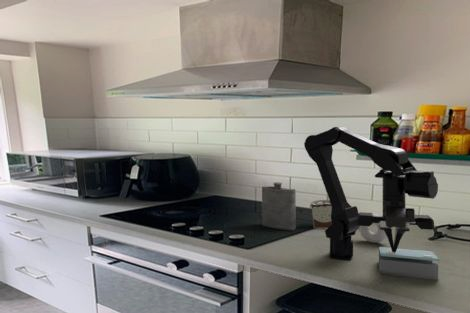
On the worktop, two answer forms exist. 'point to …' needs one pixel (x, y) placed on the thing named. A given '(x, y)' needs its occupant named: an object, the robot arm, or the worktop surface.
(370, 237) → the donut
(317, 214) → the food container
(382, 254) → the cover
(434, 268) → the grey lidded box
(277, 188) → the flask
